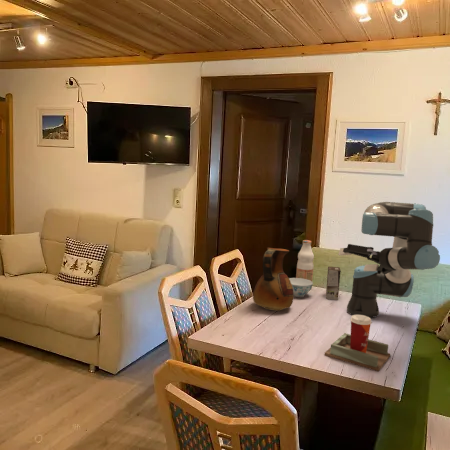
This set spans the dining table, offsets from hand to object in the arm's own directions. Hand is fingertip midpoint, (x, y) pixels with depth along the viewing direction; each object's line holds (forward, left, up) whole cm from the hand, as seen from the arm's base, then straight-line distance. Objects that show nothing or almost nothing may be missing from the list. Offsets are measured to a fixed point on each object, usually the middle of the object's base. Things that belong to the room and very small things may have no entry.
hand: (352, 259), depth 169 cm
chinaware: (-4, -66, -35) cm, 74 cm away
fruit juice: (-12, -79, -35) cm, 87 cm away
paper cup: (-1, +9, -34) cm, 35 cm away
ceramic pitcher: (+16, -46, -35) cm, 60 cm away
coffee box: (-22, -62, -35) cm, 74 cm away
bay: (-1, +9, -35) cm, 36 cm away
